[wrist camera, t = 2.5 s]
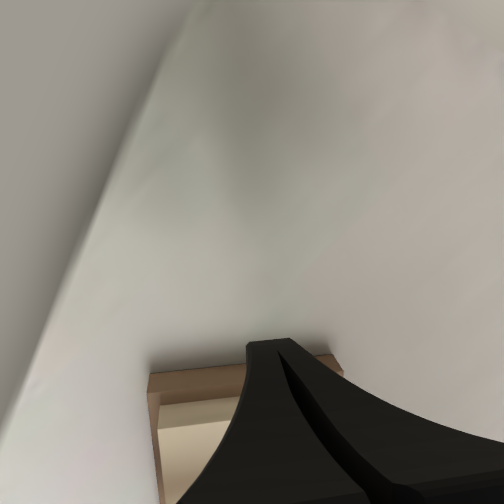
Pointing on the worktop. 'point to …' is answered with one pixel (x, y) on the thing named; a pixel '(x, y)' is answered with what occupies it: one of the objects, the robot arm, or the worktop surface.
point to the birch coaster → (190, 440)
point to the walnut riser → (198, 394)
